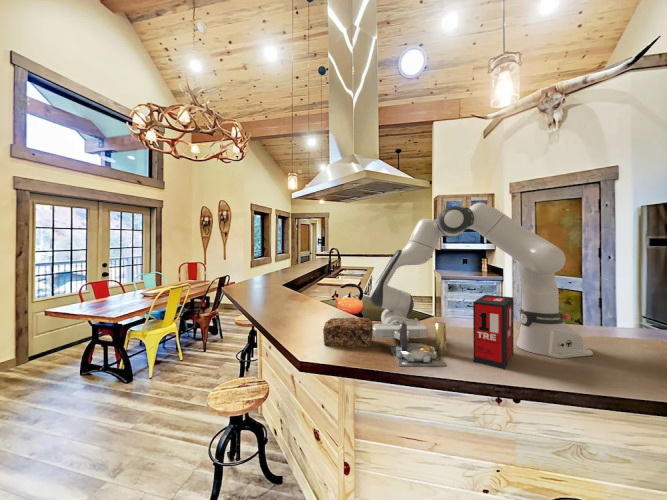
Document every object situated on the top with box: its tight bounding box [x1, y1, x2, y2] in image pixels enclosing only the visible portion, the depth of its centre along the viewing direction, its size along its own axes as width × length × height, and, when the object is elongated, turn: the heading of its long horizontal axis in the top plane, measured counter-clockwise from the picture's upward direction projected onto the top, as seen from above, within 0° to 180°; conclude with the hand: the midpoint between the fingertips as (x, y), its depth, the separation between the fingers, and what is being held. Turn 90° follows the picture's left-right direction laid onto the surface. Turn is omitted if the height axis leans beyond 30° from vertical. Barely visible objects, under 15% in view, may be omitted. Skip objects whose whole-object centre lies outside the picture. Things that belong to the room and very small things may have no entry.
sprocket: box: [395, 323, 437, 362], centre depth 98 cm, size 14×14×11 cm
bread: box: [322, 317, 373, 349], centre depth 113 cm, size 19×11×10 cm, turn 77°
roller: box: [434, 321, 447, 357], centre depth 100 cm, size 4×4×11 cm
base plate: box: [389, 346, 447, 367], centre depth 98 cm, size 15×15×1 cm
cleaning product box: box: [472, 294, 514, 370], centre depth 96 cm, size 16×9×20 cm, turn 139°
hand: (404, 337), depth 98 cm, fingers closed
